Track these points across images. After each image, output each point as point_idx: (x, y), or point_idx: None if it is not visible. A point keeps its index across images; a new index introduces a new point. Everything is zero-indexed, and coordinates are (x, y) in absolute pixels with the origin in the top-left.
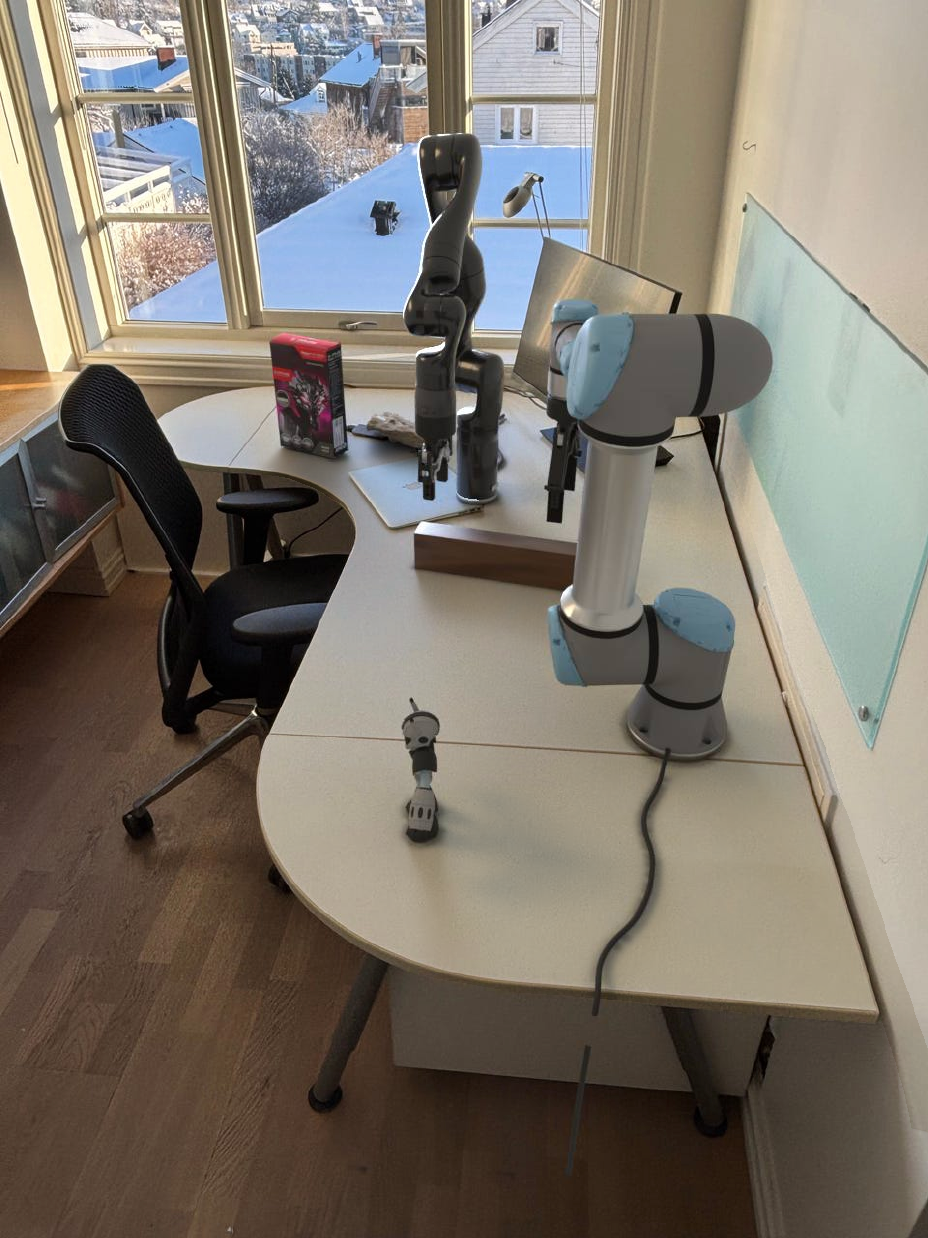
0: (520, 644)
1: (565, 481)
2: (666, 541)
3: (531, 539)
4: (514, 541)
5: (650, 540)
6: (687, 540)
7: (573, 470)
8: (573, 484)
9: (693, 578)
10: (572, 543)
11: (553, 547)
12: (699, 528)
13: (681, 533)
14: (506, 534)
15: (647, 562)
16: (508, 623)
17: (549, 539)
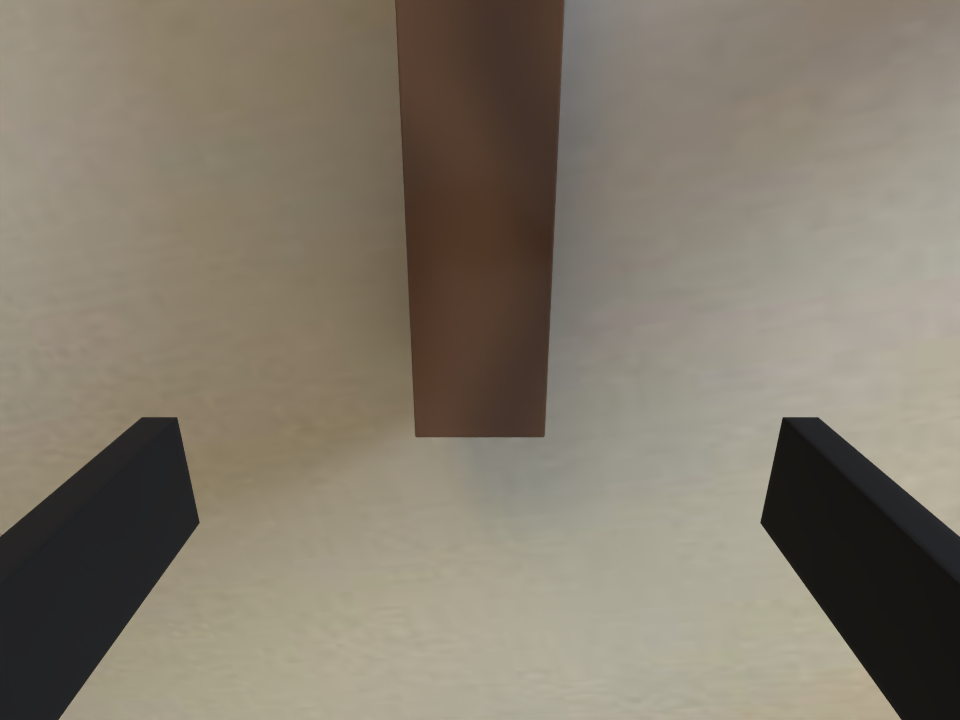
0: (14, 242)
1: (819, 502)
2: None
3: (519, 183)
4: (467, 83)
5: None
6: None
7: (882, 666)
8: (792, 554)
9: (619, 673)
10: (532, 400)
11: (463, 319)
12: None
13: None
14: (544, 4)
15: (696, 557)
16: (120, 164)
17: (545, 283)
